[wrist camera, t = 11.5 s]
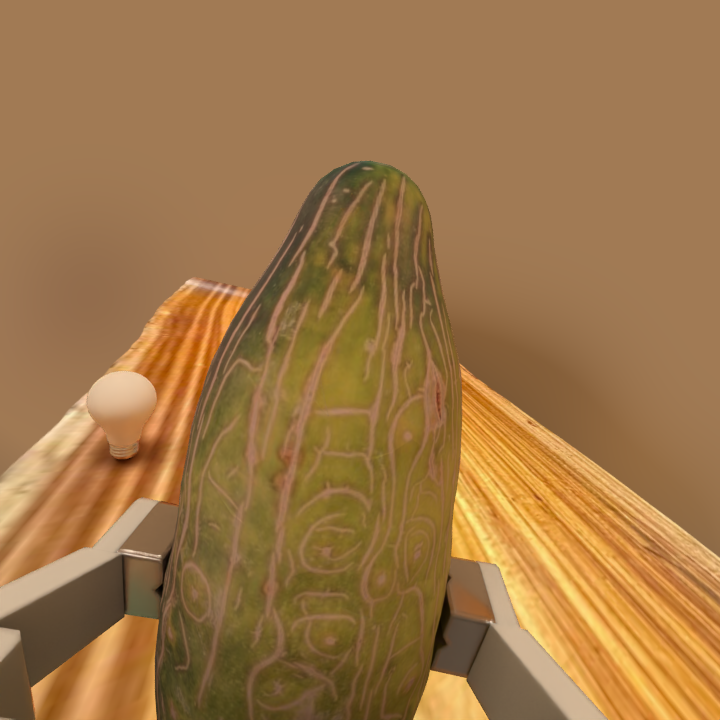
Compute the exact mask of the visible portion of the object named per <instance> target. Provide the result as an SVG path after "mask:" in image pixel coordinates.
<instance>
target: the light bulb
mask: <svg viewBox="0 0 720 720" xmlns="http://www.w3.org/2000/svg"><path fill="white" fill-rule="evenodd" d="M156 402H157V396H156V391H155V389H154V387H153V385H152V384H151V382H150V381H149V380H148V379H146V378H145V377H144V376H142V375H140V374H138V373H135V372H130V371H117V372H113V373H109V374H107V375H105V376H103V377H101V378H100V379H98V380H97V381H96V382H95V383H94V384H93V386H92V387H91V389H90V390H89V393H88V396H87V408H88V412H89V414H90V416H91V417H92V418H93V419H94V420H95V421H96V422H97V423H98V424H99V425H100V426H101V427H102V429H103V430H104V431H105V433H106V437H107V440H108V442H109V443H110V446H109V447H110V449H109V450H110V454H111V455H112V457H114V458H116V459H128V458H131V457H133V456H135V455H136V454H137V453H138V450H139V442H138V440H139V439H140V437H141V432H142V428H143V426H144V424H145V423H146V421H147V420H148V419H149V417H150V416H151V414H152V413H153V411H154V409H155V406H156Z"/></svg>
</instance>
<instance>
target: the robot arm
mask: <svg viewBox="0 0 720 720" xmlns="http://www.w3.org/2000/svg"><path fill="white" fill-rule="evenodd" d="M178 508H179V505H177V504H172V503H168V502H163V501H156V500H152V499H147V498H143V497H142V498H140V499H138V500H136V501H135V502H134V503H133V504H132V505H131V506H130V507H129V508H128V509H127V510H126V511H125V513H124V514H123V515H122V516H121V517H120V518H119V519H118V520H117V521H116V522H115V523H114V524H113V525H112V527H111V528H110V529H109V530H108V531H107V532H106V533H105V534H104V535H103V536H102V537H101V538H100V539H99V541H98V542H97V543H96V544H95V545H94V546H93V547H92V548H88V547H84V548H82V549H80V550H78V551H76V552H74V553H71V554H69V555H67V556H65V557H63V558H61V559H59V560H57V561H55V562H52V563H50V564H48V565H46V566H44V567H42V568H40V569H38V570H35V571H33V572H31V573H29V574H27V575H25V576H23V577H21V578H18V579H16V580H14V581H12V582H10V583H8V584H6V585H4V586H2V587H0V720H35V708H34V703H33V697H32V692H31V687H33V686H34V685H35V684H36V683H38V682H39V681H40V680H42V679H43V678H44V677H46V676H47V675H48V674H50V673H51V672H52V671H54V670H55V669H56V668H58V667H59V666H60V665H61V664H63V663H64V662H65V661H67V660H68V659H69V658H71V657H72V656H73V655H75V654H76V653H77V652H79V651H80V650H81V649H83V648H84V647H85V646H86V645H88V644H89V643H90V642H92V641H93V640H94V639H96V638H97V637H98V636H100V635H101V634H102V633H104V632H105V631H106V630H108V629H109V628H110V627H111V626H113V625H114V624H115V623H117V622H118V621H119V620H121V619H122V618H123V617H124V614H127V615H134V616H140V617H147V618H153V619H159V615H160V604H161V598H162V592H163V585H164V579H165V573H166V569H167V565H168V562H169V558H170V554H171V551H172V546H173V540H174V534H175V528H176V523H177V517H178ZM430 670H433V671H437V672H442V673H446V674H451V675H455V676H460V677H464V678H467V682H468V684H469V686H470V687H471V689H472V691H473V693H474V694H475V696H476V698H477V699H478V701H479V703H480V705H481V706H482V708H483V710H484V711H485V713H486V715H487V717H488V718H489V720H608V719H607V718H606V717H605V716H604V715H603V713H602V712H601V711H600V710H599V709H598V708H597V707H596V706H595V705H594V703H593V702H592V701H591V700H590V699H589V698H588V697H587V696H586V695H585V694H584V692H583V691H582V690H581V689H580V688H579V687H578V686H577V685H576V684H575V683H574V681H573V680H572V679H571V678H570V677H569V676H568V675H567V674H566V673H565V672H564V670H563V669H562V668H561V667H560V666H559V665H558V664H557V663H556V662H555V660H554V659H553V658H552V657H551V656H550V655H549V654H548V653H547V652H546V651H545V649H544V648H543V647H542V646H541V645H540V644H539V643H538V642H537V641H536V640H535V638H534V637H533V636H532V635H531V634H530V633H529V632H528V631H527V630H524V629H521V628H520V625H519V623H518V620H517V617H516V614H515V611H514V609H513V606H512V603H511V600H510V597H509V595H508V592H507V589H506V586H505V584H504V581H503V578H502V575H501V572H500V570H499V568H498V566H497V565H496V564H491V563H485V562H480V561H474V560H468V559H463V558H457V557H451V563H450V569H449V574H448V578H447V584H446V591H445V597H444V602H443V606H442V611H441V616H440V620H439V624H438V628H437V632H436V635H435V641H434V648H433V655H432V662H431V667H430Z"/></svg>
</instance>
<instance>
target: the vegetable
mask: <svg viewBox="0 0 720 720" xmlns="http://www.w3.org/2000/svg"><path fill="white" fill-rule="evenodd" d="M461 431H462V382H461V370H460V365H459V360H458V356H457V350H456V346H455V341H454V336H453V332H452V328H451V324H450V320H449V316H448V313H447V309H446V304H445V300H444V295H443V290H442V285H441V280H440V275H439V270H438V265H437V259H436V254H435V248H434V239H433V229H432V222H431V215H430V212H429V209H428V206H427V204H426V201H425V199H424V197H423V195H422V193H421V191H420V190H419V188H418V186H417V185H416V184H415V183H414V182H413V181H412V180H411V179H410V178H409V177H408V176H407V175H406V174H405V173H403V172H401V171H400V170H398V169H396V168H394V167H393V166H391V165H387V164H382V163H377V162H373V161H360V162H352V163H349V164H346V165H344V166H341V167H339V168H336V169H334V170H333V171H331V172H330V173H329V174H327V175H326V176H324V177H323V178H322V179H320V180H319V182H318V183H317V184H316V185H315V187H314V188H313V189H312V190H311V192H310V193H309V195H308V196H307V198H306V199H305V201H304V203H303V205H302V206H301V208H300V210H299V212H298V214H297V216H296V218H295V220H294V222H293V224H292V226H291V228H290V230H289V232H288V234H287V236H286V237H285V239H284V241H283V242H282V244H281V246H280V247H279V249H278V251H277V252H276V254H275V256H274V257H273V259H272V261H271V262H270V264H269V265H268V267H267V268H266V270H265V271H264V273H263V274H262V276H261V277H260V279H259V280H258V282H257V283H256V284H255V286H254V287H253V289H252V290H251V292H250V293H249V295H248V296H247V298H246V299H245V301H244V303H243V304H242V306H241V307H240V309H239V311H238V312H237V314H236V315H235V317H234V319H233V320H232V322H231V323H230V326H229V328H228V330H227V332H226V334H225V336H224V338H223V340H222V342H221V344H220V346H219V348H218V350H217V352H216V354H215V356H214V358H213V360H212V362H211V365H210V368H209V370H208V373H207V376H206V380H205V383H204V387H203V390H202V394H201V396H200V399H199V402H198V405H197V409H196V412H195V416H194V419H193V423H192V427H191V433H190V439H189V445H188V451H187V456H186V461H185V467H184V472H183V477H182V482H181V490H180V499H179V508H178V517H177V523H176V528H175V534H174V540H173V546H172V551H171V554H170V558H169V562H168V565H167V569H166V573H165V579H164V585H163V592H162V598H161V604H160V615H159V625H158V634H157V643H156V653H155V699H156V712H157V720H413V718H414V715H415V713H416V710H417V707H418V705H419V702H420V700H421V697H422V694H423V692H424V689H425V686H426V683H427V680H428V676H429V672H430V667H431V662H432V655H433V648H434V641H435V635H436V632H437V628H438V624H439V620H440V616H441V611H442V606H443V602H444V597H445V591H446V584H447V578H448V574H449V569H450V563H451V549H452V520H453V508H454V501H455V496H456V490H457V483H458V475H459V466H460V454H461Z"/></svg>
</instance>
